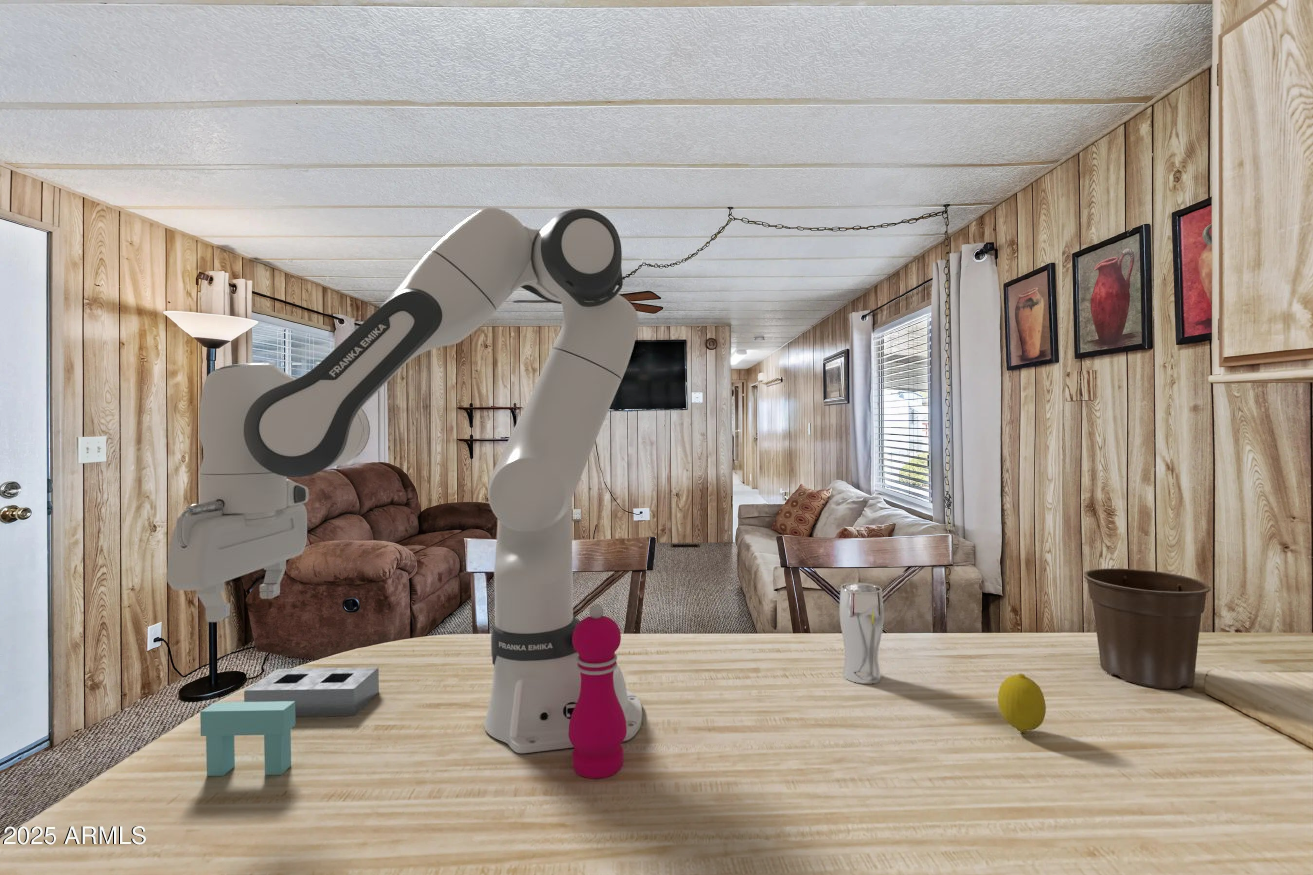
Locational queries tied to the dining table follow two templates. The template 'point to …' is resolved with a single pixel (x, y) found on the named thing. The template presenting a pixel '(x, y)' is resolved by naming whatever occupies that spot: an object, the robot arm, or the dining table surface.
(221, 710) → the teal arch block
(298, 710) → the slotted base block
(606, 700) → the pepper mill
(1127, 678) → the plant pot
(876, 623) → the beer glass
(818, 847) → the dining table surface
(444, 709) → the dining table surface
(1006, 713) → the lemon
